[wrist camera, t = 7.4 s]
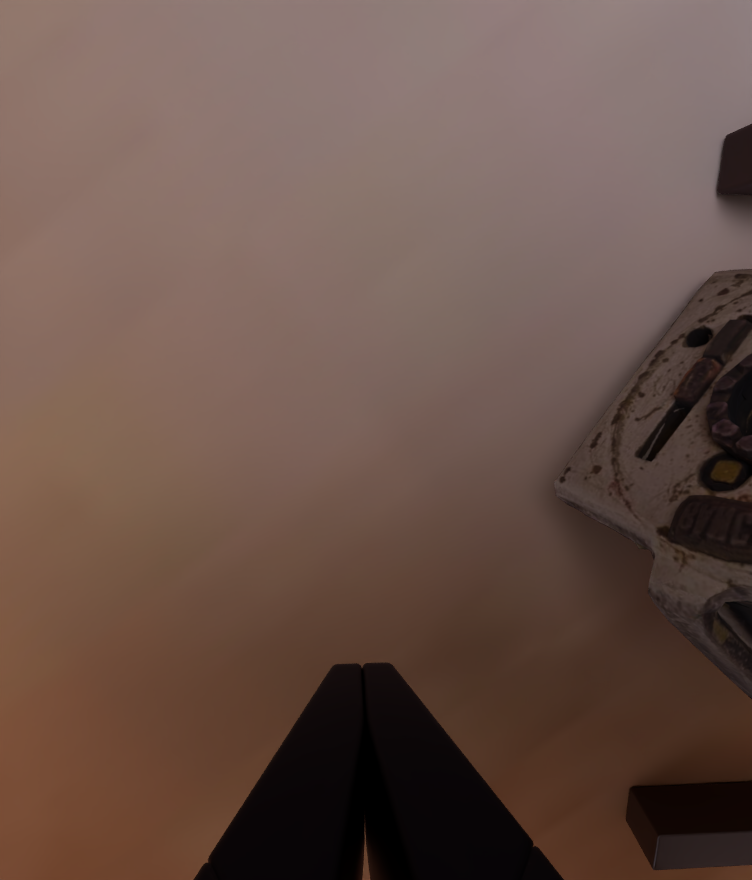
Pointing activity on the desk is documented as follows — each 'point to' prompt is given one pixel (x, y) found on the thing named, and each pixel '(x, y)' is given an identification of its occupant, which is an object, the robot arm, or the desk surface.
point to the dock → (706, 805)
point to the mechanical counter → (685, 472)
